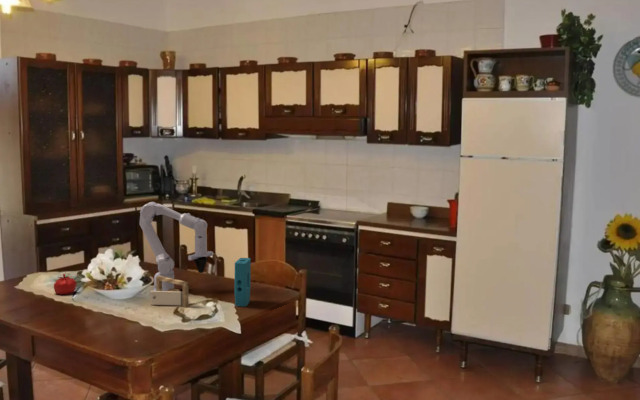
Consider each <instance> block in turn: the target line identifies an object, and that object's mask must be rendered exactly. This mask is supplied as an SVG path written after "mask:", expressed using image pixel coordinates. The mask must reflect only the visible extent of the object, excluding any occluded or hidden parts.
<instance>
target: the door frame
mask: <svg viewBox="0 0 640 400" xmlns="http://www.w3.org/2000/svg"><path fill="white" fill-rule="evenodd" d="M162 281H165V282H169V283H173V284H174V285H177V286H182V292H183V305H182V307H183V308H187V307H189V281H185V280H181V279H176V278H174V279H172V278H168V277H163V276H156V291H162Z"/></svg>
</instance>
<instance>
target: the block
mask: <svg viewBox="0 0 640 400" xmlns="http://www.w3.org/2000/svg"><path fill="white" fill-rule="evenodd" d="M251 262H252V261H251V258H250V257H240V258H238V259H237V260H236V261H235V262H234V301H235V302H234V304H235V307H247V306H248V305H249V304H250V301H251V300H250V299H251V280H252V279H251V278H252V277H251V274H252V273H251V272H252V271H251V268H252V267H251V266H252V265H251V264H252V263H251Z"/></svg>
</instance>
